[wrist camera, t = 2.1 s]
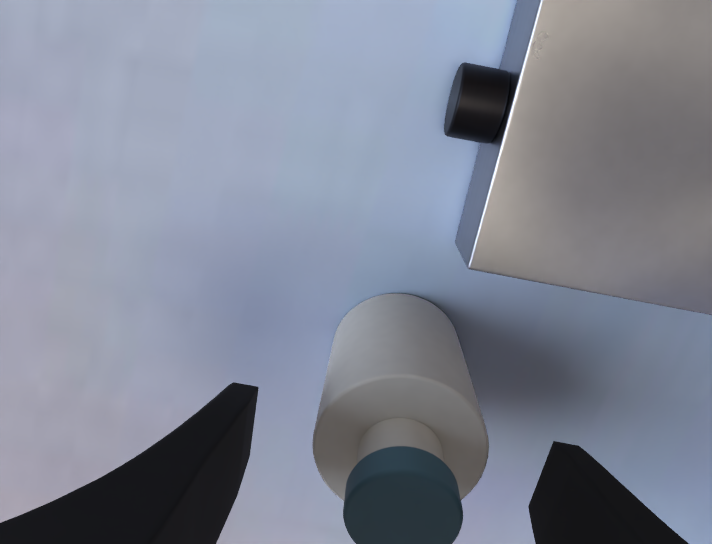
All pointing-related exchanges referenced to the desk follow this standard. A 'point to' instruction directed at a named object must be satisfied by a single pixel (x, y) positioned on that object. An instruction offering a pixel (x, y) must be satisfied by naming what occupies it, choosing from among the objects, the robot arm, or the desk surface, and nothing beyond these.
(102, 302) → the desk surface
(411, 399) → the bottle
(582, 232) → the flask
